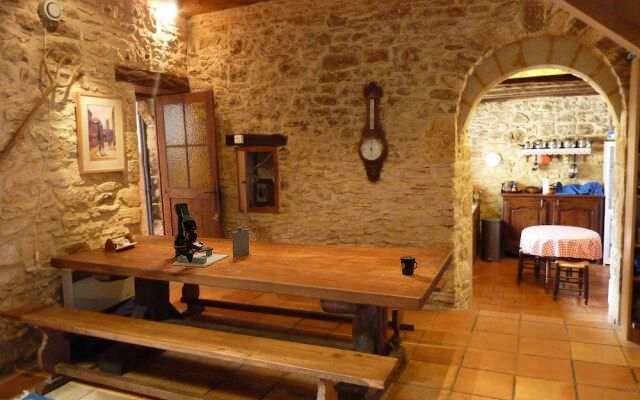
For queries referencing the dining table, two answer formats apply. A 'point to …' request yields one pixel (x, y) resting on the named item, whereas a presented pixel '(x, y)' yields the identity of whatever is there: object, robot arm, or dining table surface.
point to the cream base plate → (210, 260)
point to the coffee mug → (408, 265)
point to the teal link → (195, 259)
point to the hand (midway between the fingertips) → (190, 262)
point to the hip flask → (240, 242)
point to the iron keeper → (207, 250)
